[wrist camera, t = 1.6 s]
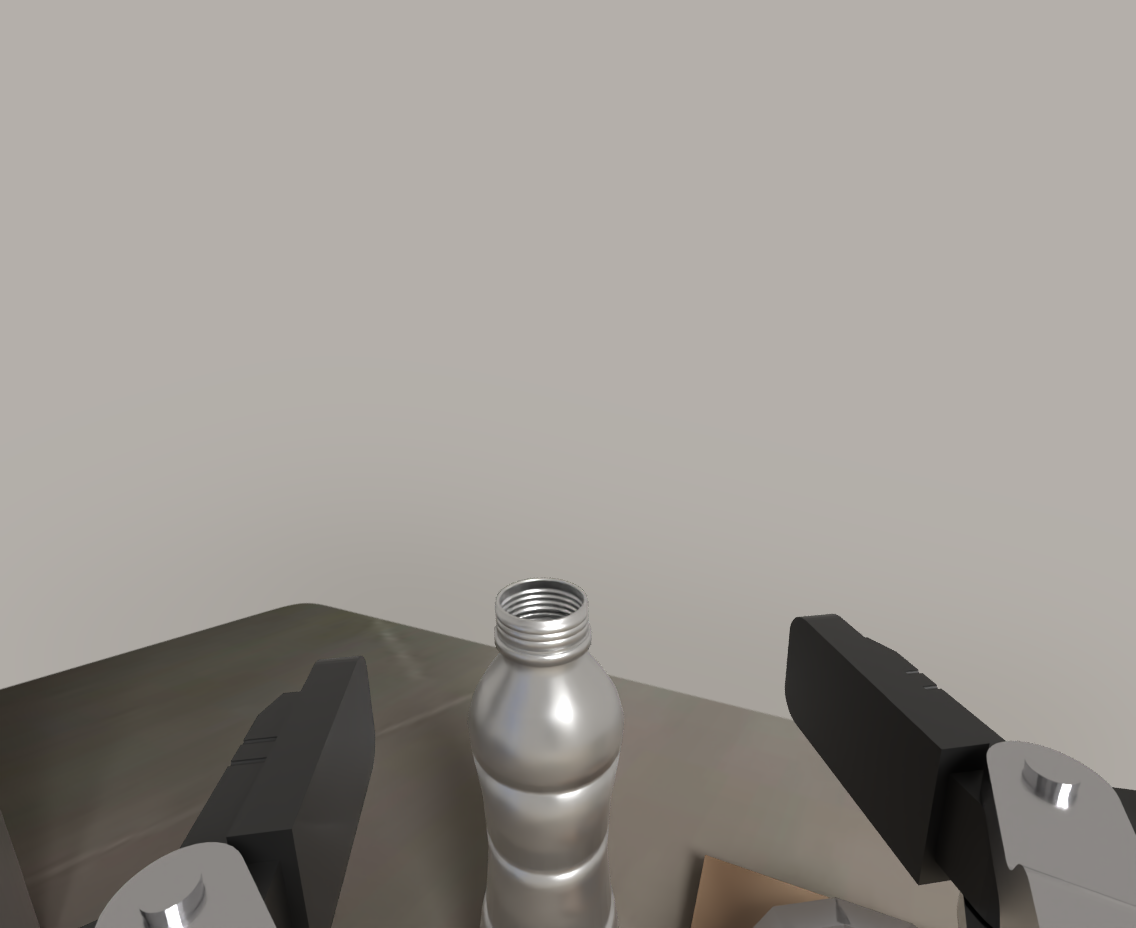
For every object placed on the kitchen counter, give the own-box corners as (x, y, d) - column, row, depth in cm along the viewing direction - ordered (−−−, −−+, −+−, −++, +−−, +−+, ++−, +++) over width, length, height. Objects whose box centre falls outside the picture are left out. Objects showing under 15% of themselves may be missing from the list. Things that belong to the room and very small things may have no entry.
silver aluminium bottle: (537, 878, 32) (526, 550, 27) (644, 953, 28) (656, 588, 23) (453, 986, 27) (419, 608, 22) (569, 1096, 23) (563, 668, 18)
